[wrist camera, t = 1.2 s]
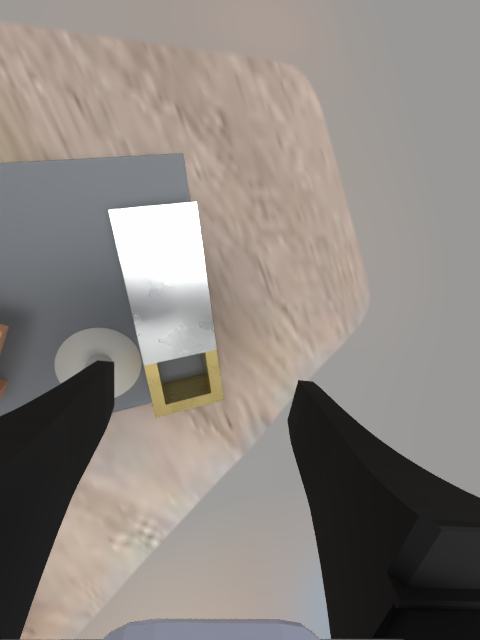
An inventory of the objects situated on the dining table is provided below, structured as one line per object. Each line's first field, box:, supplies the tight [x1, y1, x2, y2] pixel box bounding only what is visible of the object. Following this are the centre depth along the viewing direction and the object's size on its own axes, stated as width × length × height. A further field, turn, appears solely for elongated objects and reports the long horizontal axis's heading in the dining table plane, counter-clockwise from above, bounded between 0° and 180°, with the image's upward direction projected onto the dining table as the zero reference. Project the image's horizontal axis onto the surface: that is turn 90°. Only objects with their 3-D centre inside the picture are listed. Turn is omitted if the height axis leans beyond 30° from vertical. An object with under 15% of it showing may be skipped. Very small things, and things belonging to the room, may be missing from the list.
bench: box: [0, 153, 203, 416], centre depth 19 cm, size 17×17×3 cm
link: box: [108, 202, 224, 418], centre depth 21 cm, size 13×5×3 cm, turn 6°
